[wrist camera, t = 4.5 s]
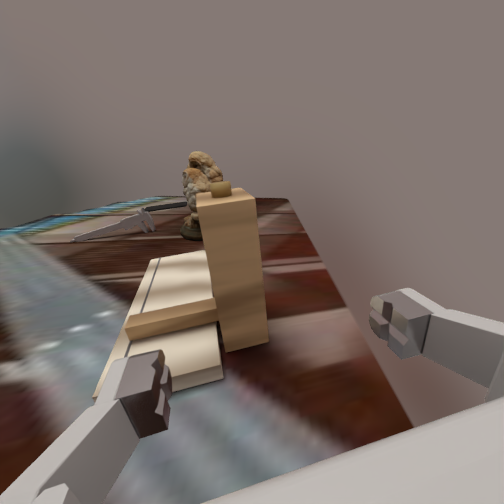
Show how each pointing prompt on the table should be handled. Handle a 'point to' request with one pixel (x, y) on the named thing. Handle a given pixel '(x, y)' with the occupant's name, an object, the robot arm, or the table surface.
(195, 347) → the board
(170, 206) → the smartphone
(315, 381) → the table surface
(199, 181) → the carved stone sculpture
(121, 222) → the caliper
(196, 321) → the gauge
